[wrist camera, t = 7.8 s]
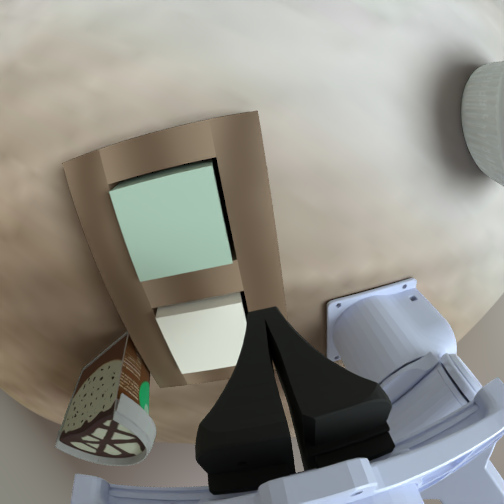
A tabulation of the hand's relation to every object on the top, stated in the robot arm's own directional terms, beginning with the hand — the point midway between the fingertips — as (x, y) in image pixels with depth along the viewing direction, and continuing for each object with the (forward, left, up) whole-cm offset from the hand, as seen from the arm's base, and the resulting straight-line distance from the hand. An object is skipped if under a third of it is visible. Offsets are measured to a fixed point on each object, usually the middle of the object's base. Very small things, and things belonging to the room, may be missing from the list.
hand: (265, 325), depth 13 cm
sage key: (+4, -4, -8) cm, 10 cm away
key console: (+4, +1, -9) cm, 10 cm away
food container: (+14, +11, -10) cm, 20 cm away
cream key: (+4, +6, -8) cm, 11 cm away
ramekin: (-26, -8, -10) cm, 29 cm away
